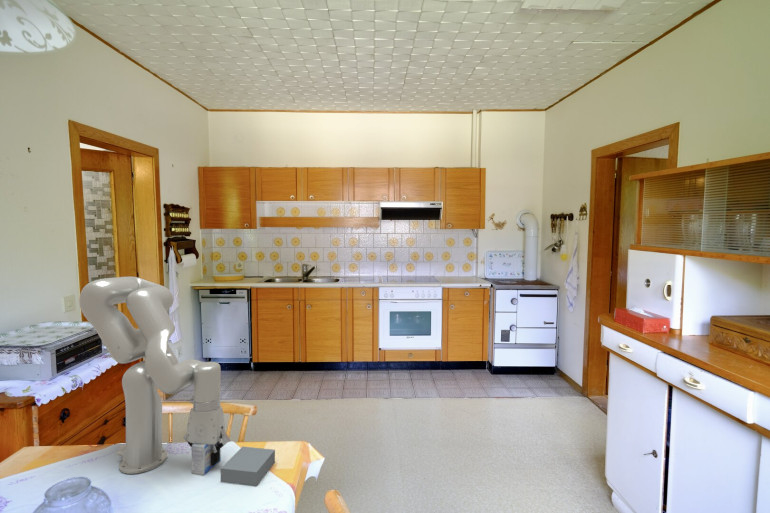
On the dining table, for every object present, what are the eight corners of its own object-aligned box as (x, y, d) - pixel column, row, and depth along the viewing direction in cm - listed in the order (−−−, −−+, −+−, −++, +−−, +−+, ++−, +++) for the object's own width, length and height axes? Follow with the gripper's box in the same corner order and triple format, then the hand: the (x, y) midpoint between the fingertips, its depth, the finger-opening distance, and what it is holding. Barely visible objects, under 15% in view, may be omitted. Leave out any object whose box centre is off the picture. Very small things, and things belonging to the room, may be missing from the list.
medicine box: (203, 476, 108) (204, 446, 108) (190, 473, 109) (191, 445, 109) (221, 461, 116) (221, 434, 116) (208, 459, 117) (208, 432, 117)
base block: (220, 482, 106) (220, 468, 106) (242, 458, 118) (242, 446, 117) (256, 486, 104) (256, 472, 104) (274, 462, 116) (275, 449, 116)
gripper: (173, 406, 110) (172, 466, 110) (225, 411, 108) (225, 472, 108) (189, 397, 117) (189, 453, 118) (239, 400, 115) (238, 458, 115)
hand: (206, 461), depth 113 cm, fingers open, 5 cm apart
